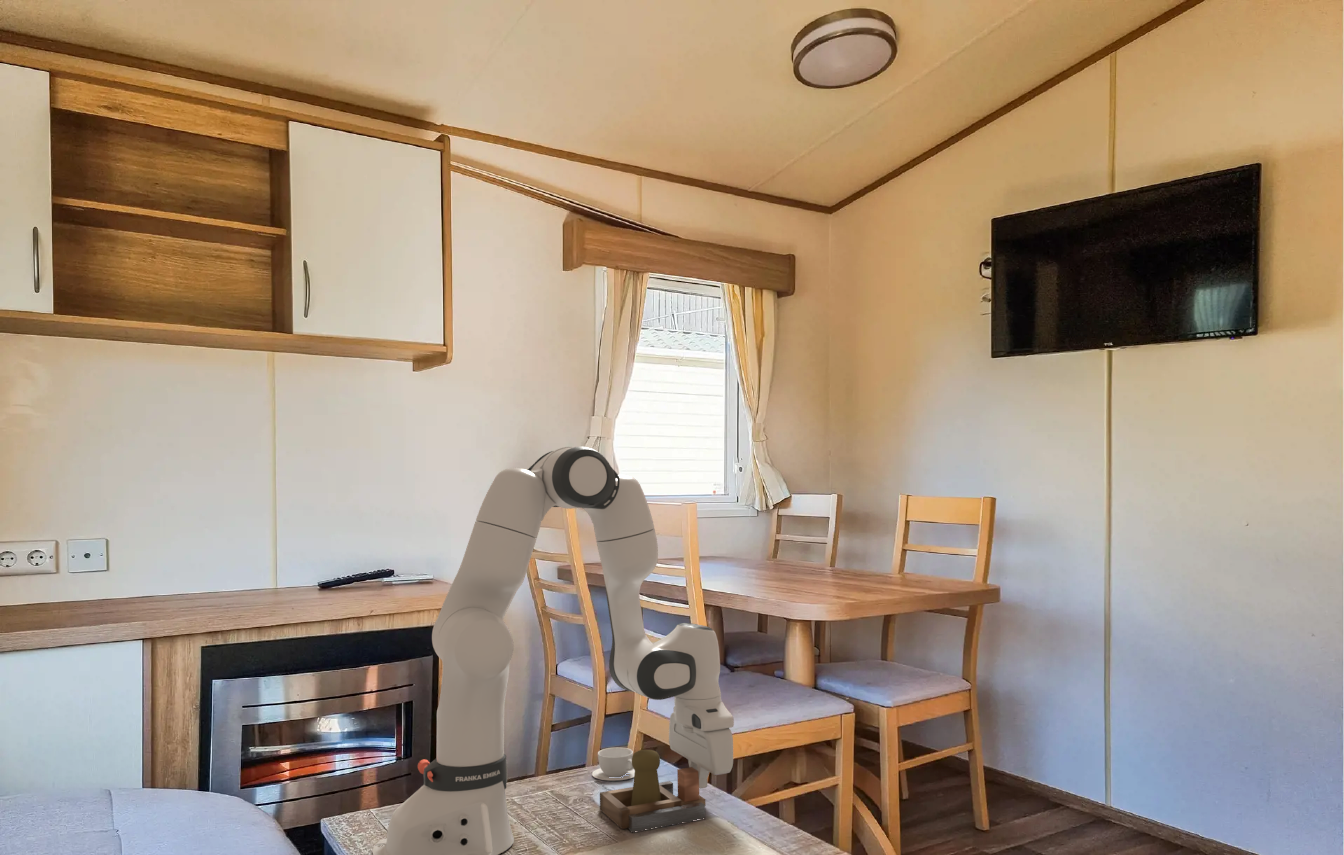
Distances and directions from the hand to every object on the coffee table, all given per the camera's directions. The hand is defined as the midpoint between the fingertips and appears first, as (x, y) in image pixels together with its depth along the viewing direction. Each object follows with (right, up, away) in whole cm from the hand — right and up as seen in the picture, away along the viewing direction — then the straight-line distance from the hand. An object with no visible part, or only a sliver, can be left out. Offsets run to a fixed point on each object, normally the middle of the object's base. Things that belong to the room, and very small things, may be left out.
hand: (699, 786), depth 161 cm
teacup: (-17, -6, +18) cm, 26 cm away
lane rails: (-9, -3, -4) cm, 10 cm away
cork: (-10, -3, -5) cm, 11 cm away
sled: (-8, -3, -4) cm, 9 cm away
